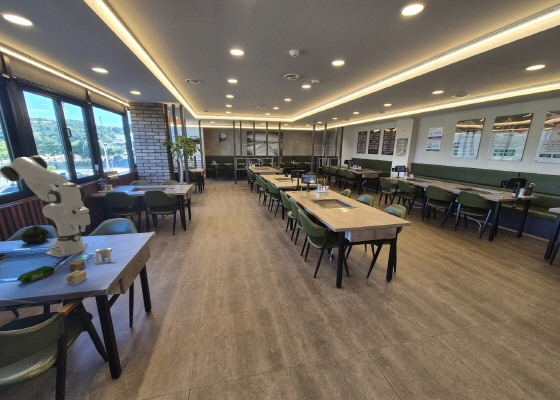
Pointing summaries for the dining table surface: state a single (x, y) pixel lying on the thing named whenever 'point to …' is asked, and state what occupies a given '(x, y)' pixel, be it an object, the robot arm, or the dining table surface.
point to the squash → (35, 234)
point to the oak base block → (76, 276)
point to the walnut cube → (76, 265)
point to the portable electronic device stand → (103, 255)
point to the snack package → (36, 274)
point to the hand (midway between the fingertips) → (77, 230)
